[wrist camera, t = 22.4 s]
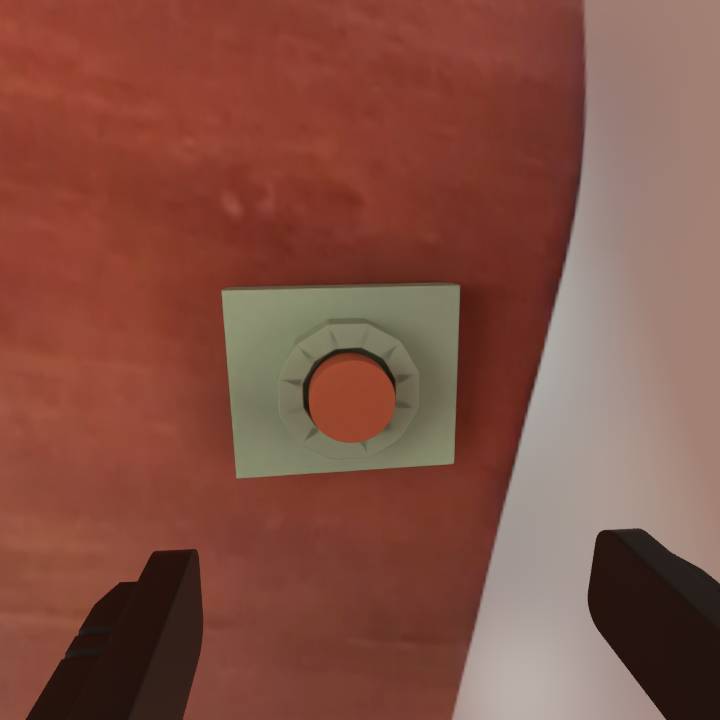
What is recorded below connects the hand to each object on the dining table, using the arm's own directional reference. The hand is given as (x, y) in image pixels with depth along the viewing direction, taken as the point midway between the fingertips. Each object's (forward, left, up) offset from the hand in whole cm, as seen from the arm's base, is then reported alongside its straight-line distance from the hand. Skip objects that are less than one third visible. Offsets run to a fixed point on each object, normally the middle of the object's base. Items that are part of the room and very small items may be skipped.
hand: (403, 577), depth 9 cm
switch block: (0, +1, -18) cm, 18 cm away
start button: (0, +1, -14) cm, 14 cm away
